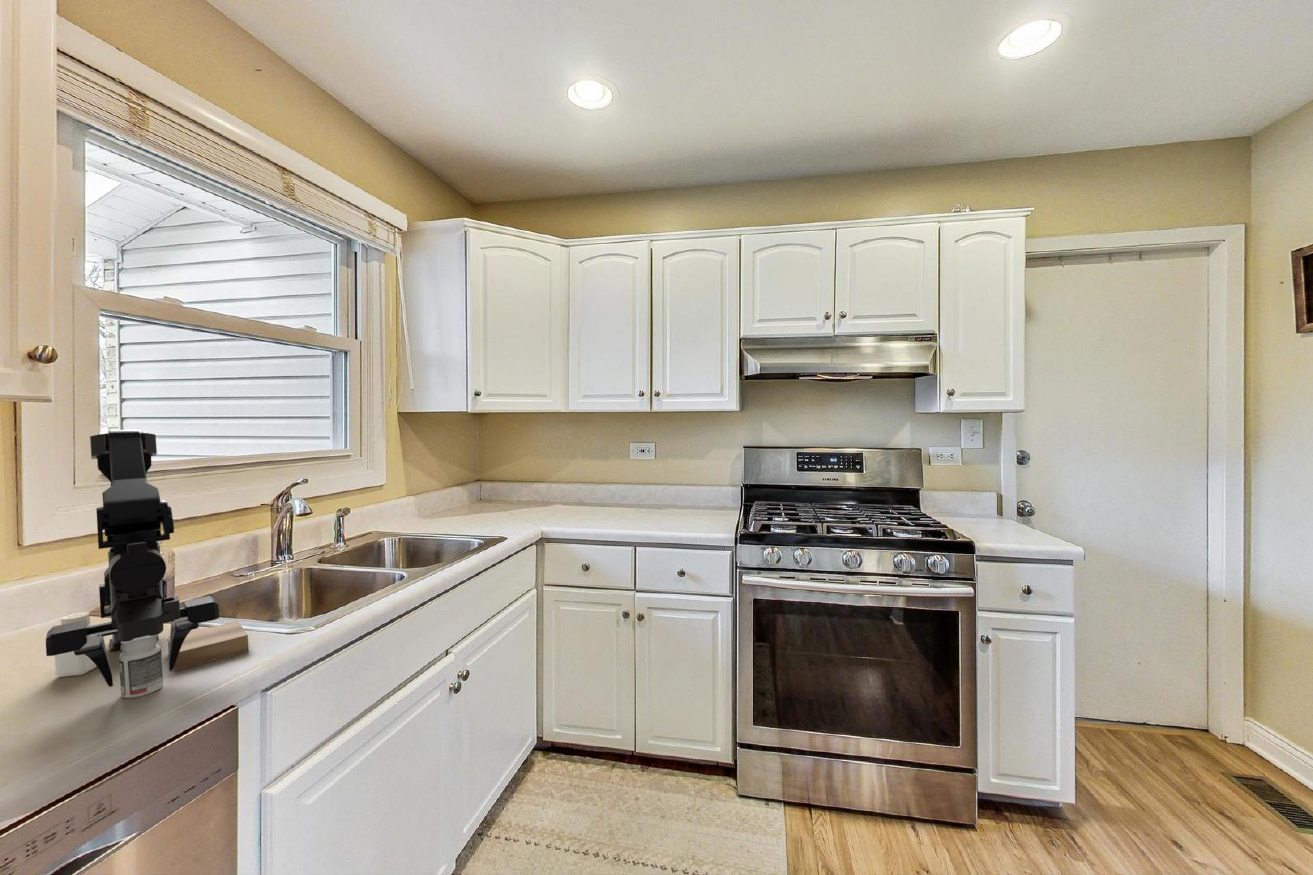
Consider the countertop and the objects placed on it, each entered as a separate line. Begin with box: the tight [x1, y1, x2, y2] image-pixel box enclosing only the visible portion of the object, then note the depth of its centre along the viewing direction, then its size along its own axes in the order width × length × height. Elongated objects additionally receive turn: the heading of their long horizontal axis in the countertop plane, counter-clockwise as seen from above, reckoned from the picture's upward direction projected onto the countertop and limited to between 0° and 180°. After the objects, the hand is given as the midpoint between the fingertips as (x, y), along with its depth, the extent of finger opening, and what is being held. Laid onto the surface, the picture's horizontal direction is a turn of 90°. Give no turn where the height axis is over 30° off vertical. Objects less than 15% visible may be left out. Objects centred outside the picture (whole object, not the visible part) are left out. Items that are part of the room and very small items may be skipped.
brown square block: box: [167, 620, 250, 672], centre depth 96 cm, size 10×10×3 cm
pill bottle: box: [118, 635, 164, 699], centre depth 83 cm, size 5×5×8 cm
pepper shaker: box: [54, 612, 98, 678], centre depth 90 cm, size 4×4×10 cm
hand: (141, 677), depth 83 cm, fingers open, 6 cm apart
